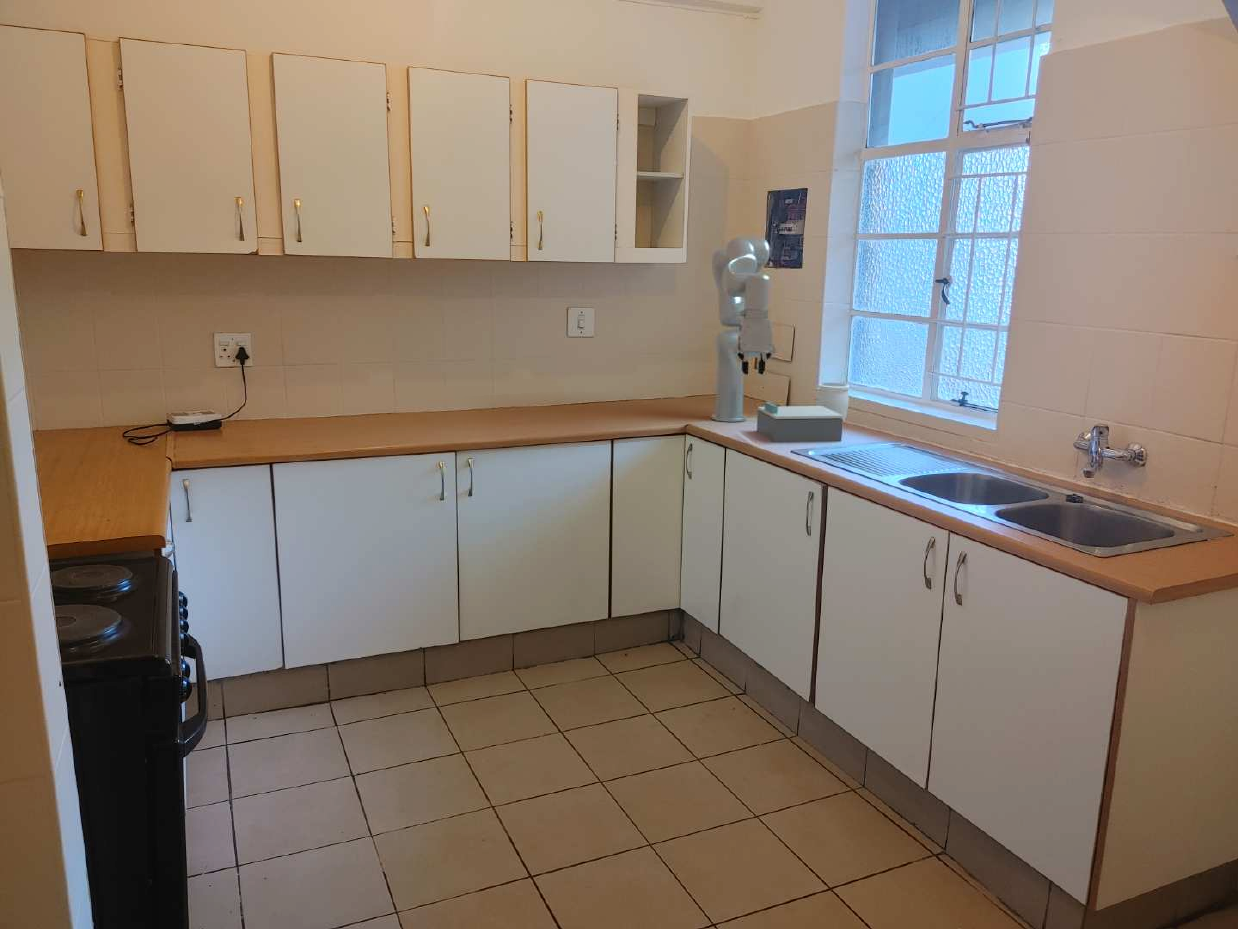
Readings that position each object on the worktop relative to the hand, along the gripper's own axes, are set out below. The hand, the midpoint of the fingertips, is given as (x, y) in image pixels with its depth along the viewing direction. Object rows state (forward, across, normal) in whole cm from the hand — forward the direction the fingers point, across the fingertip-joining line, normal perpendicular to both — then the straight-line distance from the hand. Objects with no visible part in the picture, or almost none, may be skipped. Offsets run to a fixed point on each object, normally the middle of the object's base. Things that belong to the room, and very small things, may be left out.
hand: (753, 373), depth 288 cm
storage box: (+21, +16, 0) cm, 27 cm away
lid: (+13, +16, 0) cm, 21 cm away
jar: (+22, +34, +17) cm, 44 cm away
